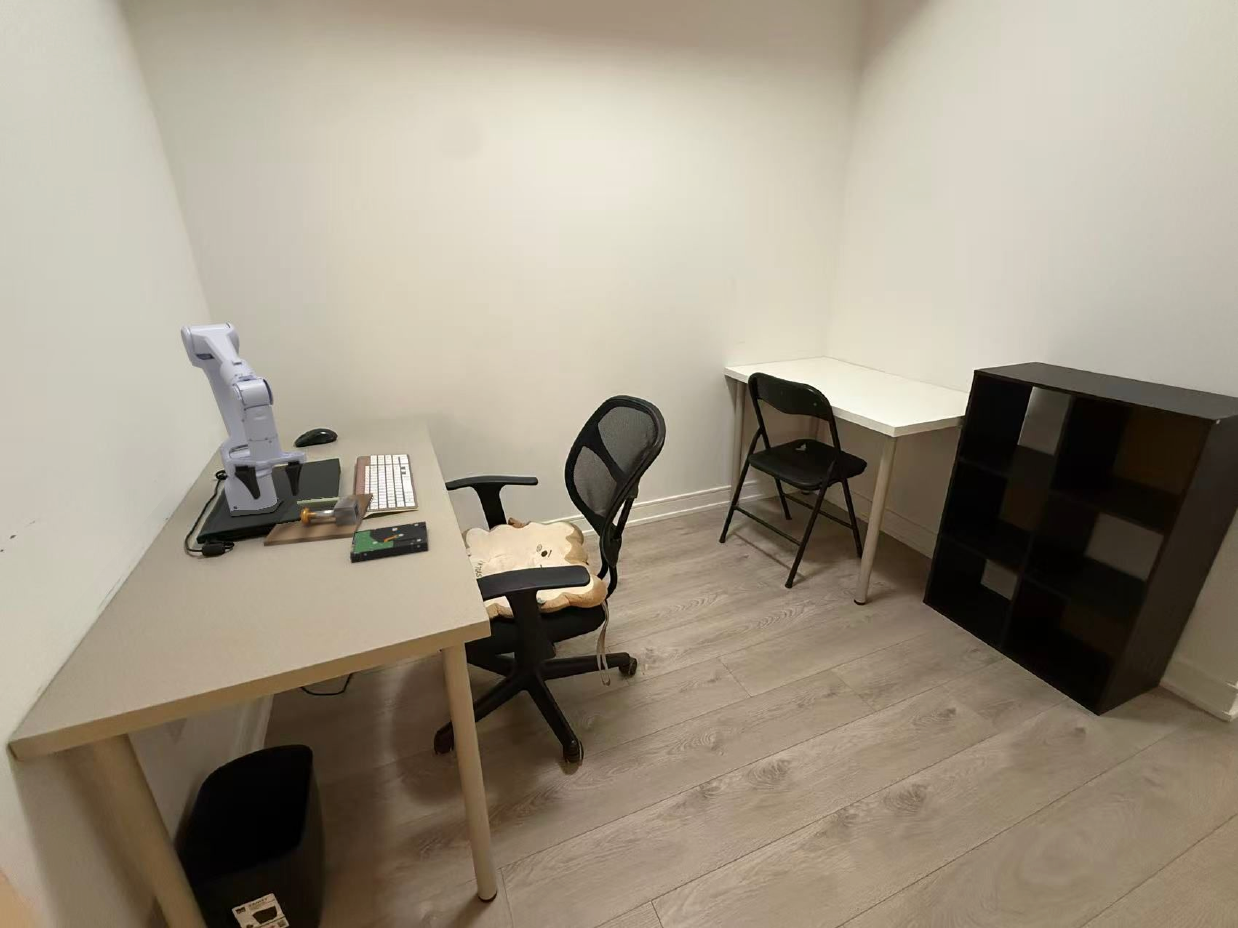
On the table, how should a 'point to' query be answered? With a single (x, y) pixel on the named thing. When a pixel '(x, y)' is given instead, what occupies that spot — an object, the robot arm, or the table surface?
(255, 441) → the robot arm
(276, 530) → the board
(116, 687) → the table surface
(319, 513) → the pin
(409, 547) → the disk drive
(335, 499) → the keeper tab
